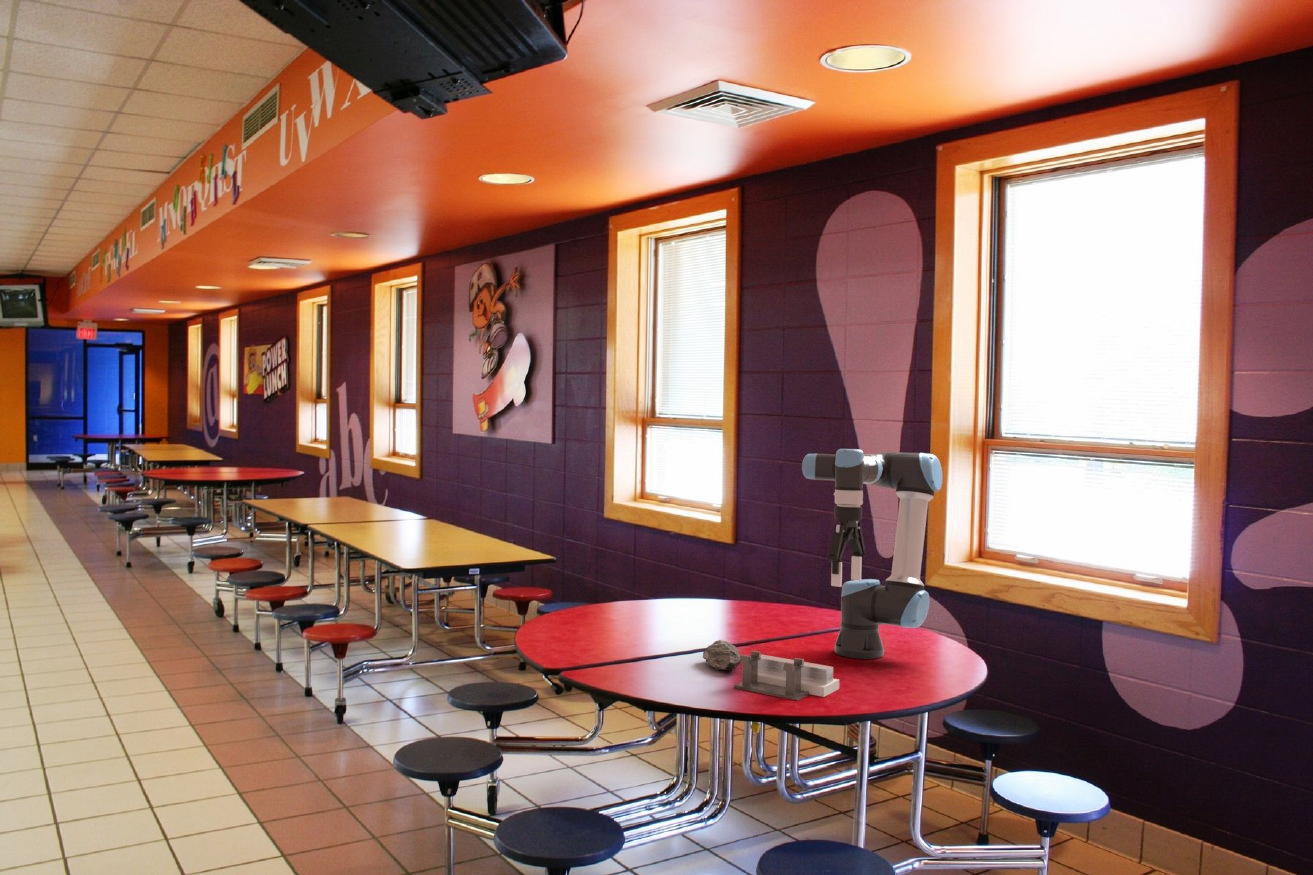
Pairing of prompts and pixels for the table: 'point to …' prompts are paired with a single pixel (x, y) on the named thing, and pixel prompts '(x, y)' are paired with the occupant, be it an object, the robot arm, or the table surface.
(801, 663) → the rack
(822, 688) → the board
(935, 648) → the table surface
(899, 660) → the table surface
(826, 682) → the rail
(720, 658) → the rock
